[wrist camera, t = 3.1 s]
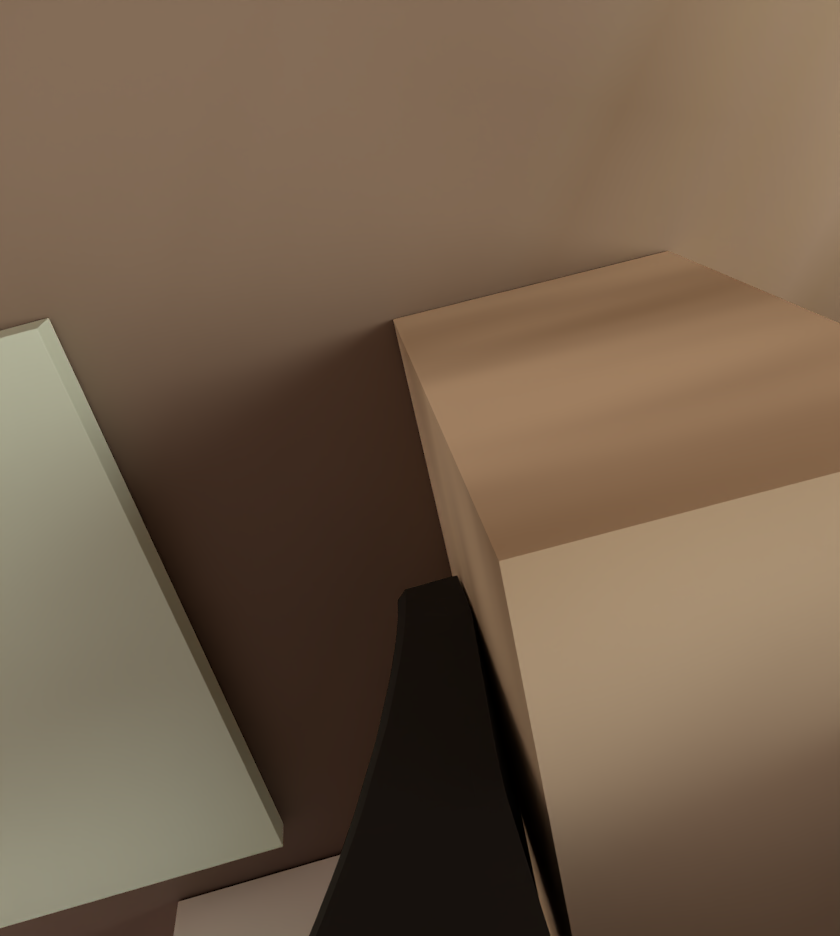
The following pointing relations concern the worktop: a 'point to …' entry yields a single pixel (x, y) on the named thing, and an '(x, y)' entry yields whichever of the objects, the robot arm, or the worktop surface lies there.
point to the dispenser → (260, 905)
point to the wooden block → (651, 586)
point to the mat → (99, 672)
